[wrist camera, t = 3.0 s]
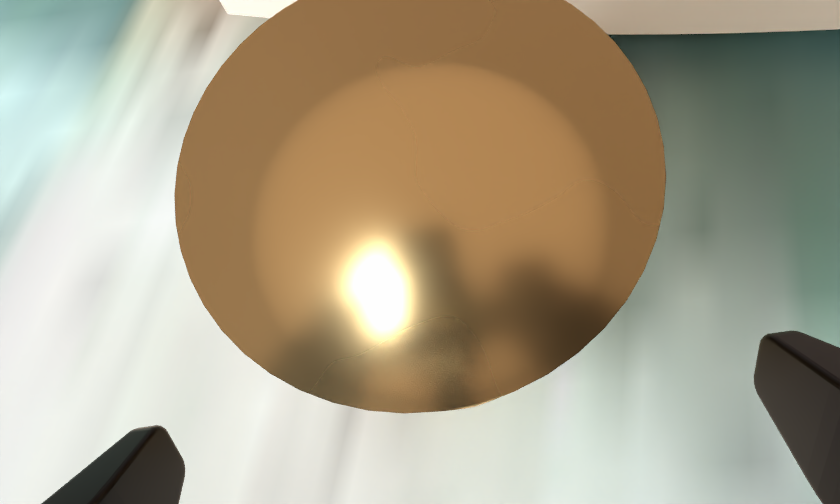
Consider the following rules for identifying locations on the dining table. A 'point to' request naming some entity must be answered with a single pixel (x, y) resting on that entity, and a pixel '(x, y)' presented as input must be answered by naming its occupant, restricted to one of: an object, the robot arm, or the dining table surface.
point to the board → (662, 15)
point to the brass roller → (419, 196)
